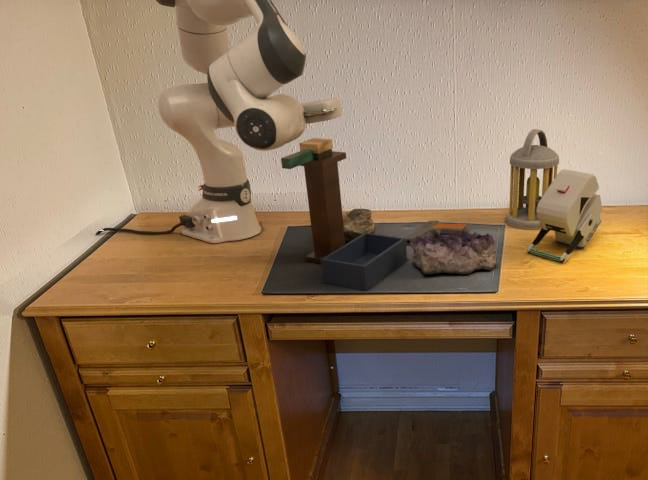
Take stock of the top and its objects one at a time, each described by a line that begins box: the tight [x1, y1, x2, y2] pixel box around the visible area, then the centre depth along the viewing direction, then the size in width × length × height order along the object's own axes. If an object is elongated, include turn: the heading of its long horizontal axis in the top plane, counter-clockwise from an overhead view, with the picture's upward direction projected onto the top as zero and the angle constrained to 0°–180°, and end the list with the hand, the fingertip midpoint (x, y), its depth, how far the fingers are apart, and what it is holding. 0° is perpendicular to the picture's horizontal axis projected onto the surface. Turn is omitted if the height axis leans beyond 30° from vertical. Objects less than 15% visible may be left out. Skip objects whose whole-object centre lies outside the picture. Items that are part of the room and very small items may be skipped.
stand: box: [299, 150, 347, 264], centre depth 160 cm, size 8×10×25 cm
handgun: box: [406, 219, 468, 246], centre depth 176 cm, size 2×16×12 cm
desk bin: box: [320, 233, 408, 292], centre depth 155 cm, size 12×20×6 cm, turn 154°
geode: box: [410, 230, 497, 275], centre depth 155 cm, size 20×12×10 cm, turn 96°
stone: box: [342, 208, 376, 242], centre depth 176 cm, size 14×10×10 cm
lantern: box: [505, 128, 560, 230], centre depth 180 cm, size 14×14×25 cm
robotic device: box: [526, 169, 603, 264], centre depth 163 cm, size 10×21×20 cm
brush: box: [280, 137, 334, 170], centre depth 148 cm, size 15×5×4 cm, turn 154°
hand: (301, 111), depth 141 cm, fingers open, 8 cm apart
